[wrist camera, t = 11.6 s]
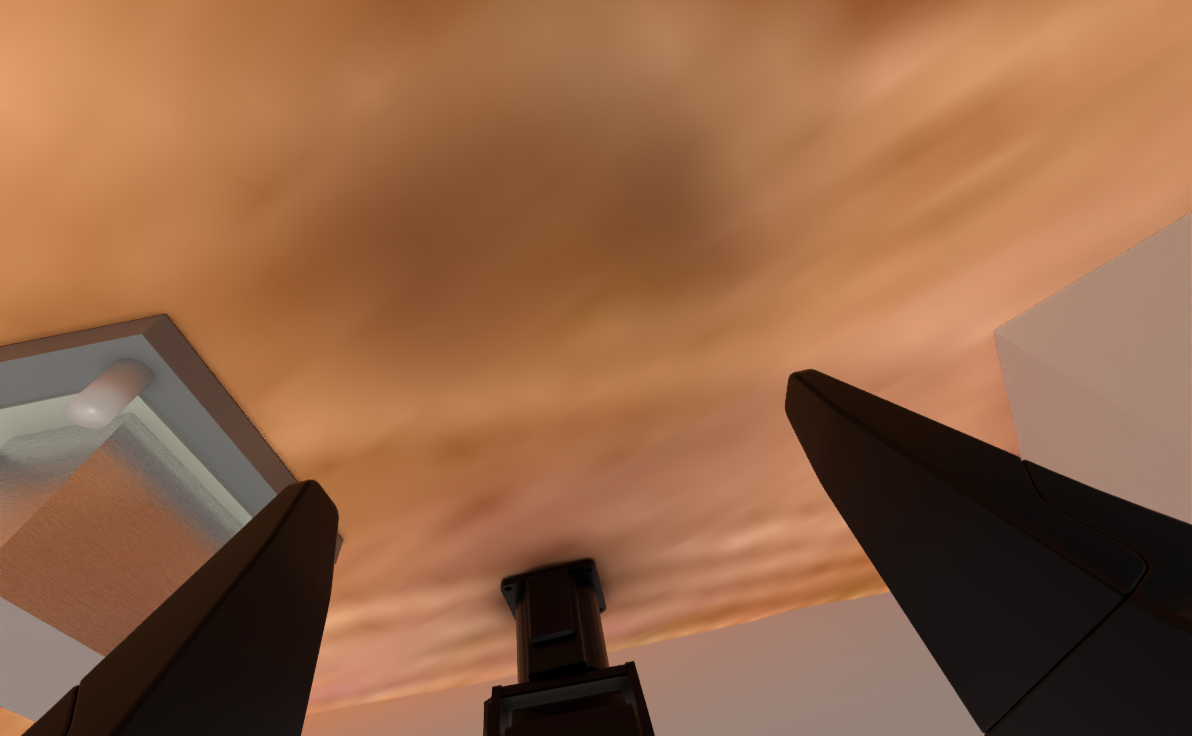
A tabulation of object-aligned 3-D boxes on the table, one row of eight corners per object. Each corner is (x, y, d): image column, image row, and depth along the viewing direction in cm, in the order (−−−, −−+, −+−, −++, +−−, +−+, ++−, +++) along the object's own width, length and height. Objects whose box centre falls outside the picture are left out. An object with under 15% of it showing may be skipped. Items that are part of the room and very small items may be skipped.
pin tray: (343, 540, 27) (321, 608, 24) (178, 577, 26) (133, 652, 23) (165, 314, 18) (93, 374, 15) (-88, 363, 18) (-219, 437, 14)
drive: (261, 545, 24) (186, 704, 18) (167, 566, 23) (62, 734, 18) (133, 412, 18) (-31, 579, 13) (9, 437, 18) (-213, 620, 12)
